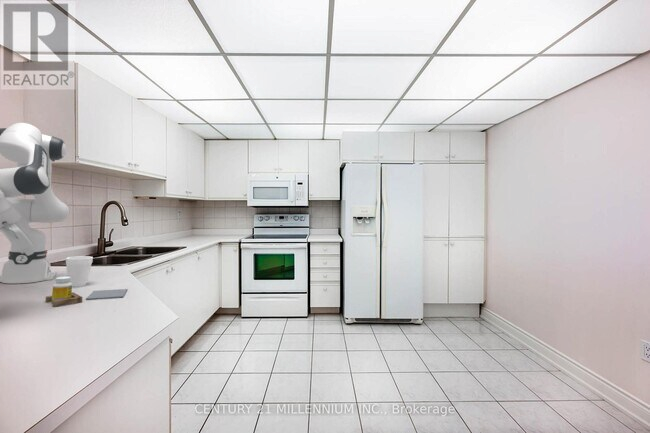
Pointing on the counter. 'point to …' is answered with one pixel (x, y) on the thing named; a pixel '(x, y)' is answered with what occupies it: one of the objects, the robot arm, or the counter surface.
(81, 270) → the foam cup
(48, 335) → the counter surface
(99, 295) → the slate mat
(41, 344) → the counter surface
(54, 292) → the supplement bottle
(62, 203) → the robot arm
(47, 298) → the slot holder
